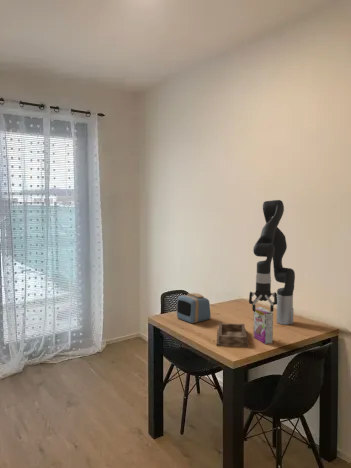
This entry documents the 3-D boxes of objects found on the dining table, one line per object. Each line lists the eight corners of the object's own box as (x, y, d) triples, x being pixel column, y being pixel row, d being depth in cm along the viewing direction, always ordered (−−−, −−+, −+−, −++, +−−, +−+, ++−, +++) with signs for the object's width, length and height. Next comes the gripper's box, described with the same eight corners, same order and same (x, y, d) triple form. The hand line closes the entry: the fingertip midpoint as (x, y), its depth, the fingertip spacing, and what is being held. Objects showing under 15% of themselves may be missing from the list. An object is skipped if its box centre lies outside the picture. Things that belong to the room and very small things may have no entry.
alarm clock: (175, 318, 246) (175, 293, 244) (195, 313, 256) (195, 289, 254) (191, 324, 233) (191, 298, 231) (212, 319, 243) (212, 294, 241)
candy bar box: (252, 337, 210) (253, 307, 209) (260, 336, 212) (261, 306, 211) (264, 344, 200) (265, 313, 198) (273, 343, 202) (273, 312, 200)
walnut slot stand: (245, 331, 221) (245, 323, 220) (248, 346, 197) (248, 338, 197) (217, 330, 223) (217, 322, 222) (216, 345, 199) (216, 337, 198)
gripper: (276, 280, 206) (275, 310, 207) (249, 279, 208) (248, 309, 209) (278, 283, 199) (277, 314, 200) (249, 282, 200) (249, 313, 202)
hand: (262, 311), depth 205 cm, fingers open, 8 cm apart
